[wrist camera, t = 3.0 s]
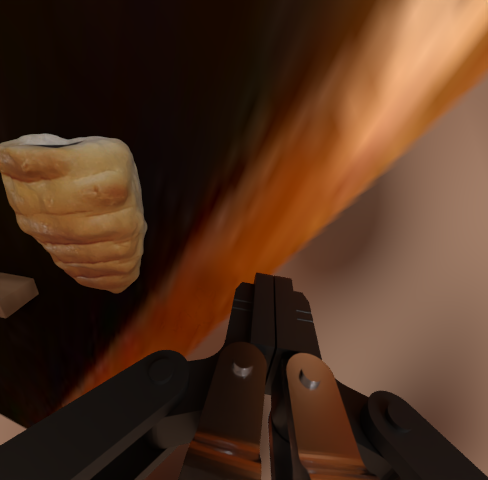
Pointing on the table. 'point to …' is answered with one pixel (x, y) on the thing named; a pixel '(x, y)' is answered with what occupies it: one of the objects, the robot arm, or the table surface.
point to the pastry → (79, 204)
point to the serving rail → (15, 293)
